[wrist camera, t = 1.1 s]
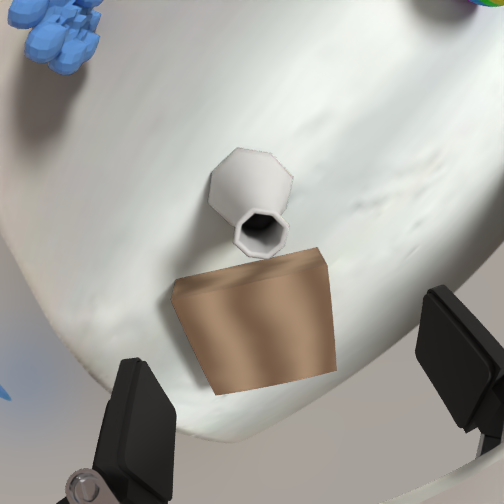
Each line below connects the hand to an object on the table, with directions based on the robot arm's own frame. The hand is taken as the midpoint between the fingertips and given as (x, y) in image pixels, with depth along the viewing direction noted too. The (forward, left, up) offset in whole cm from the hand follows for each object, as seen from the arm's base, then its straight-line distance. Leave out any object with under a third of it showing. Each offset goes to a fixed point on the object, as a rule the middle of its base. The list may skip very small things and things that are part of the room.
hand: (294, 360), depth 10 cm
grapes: (+9, -19, -20) cm, 29 cm away
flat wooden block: (+2, +14, -20) cm, 25 cm away
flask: (0, 0, -20) cm, 20 cm away
